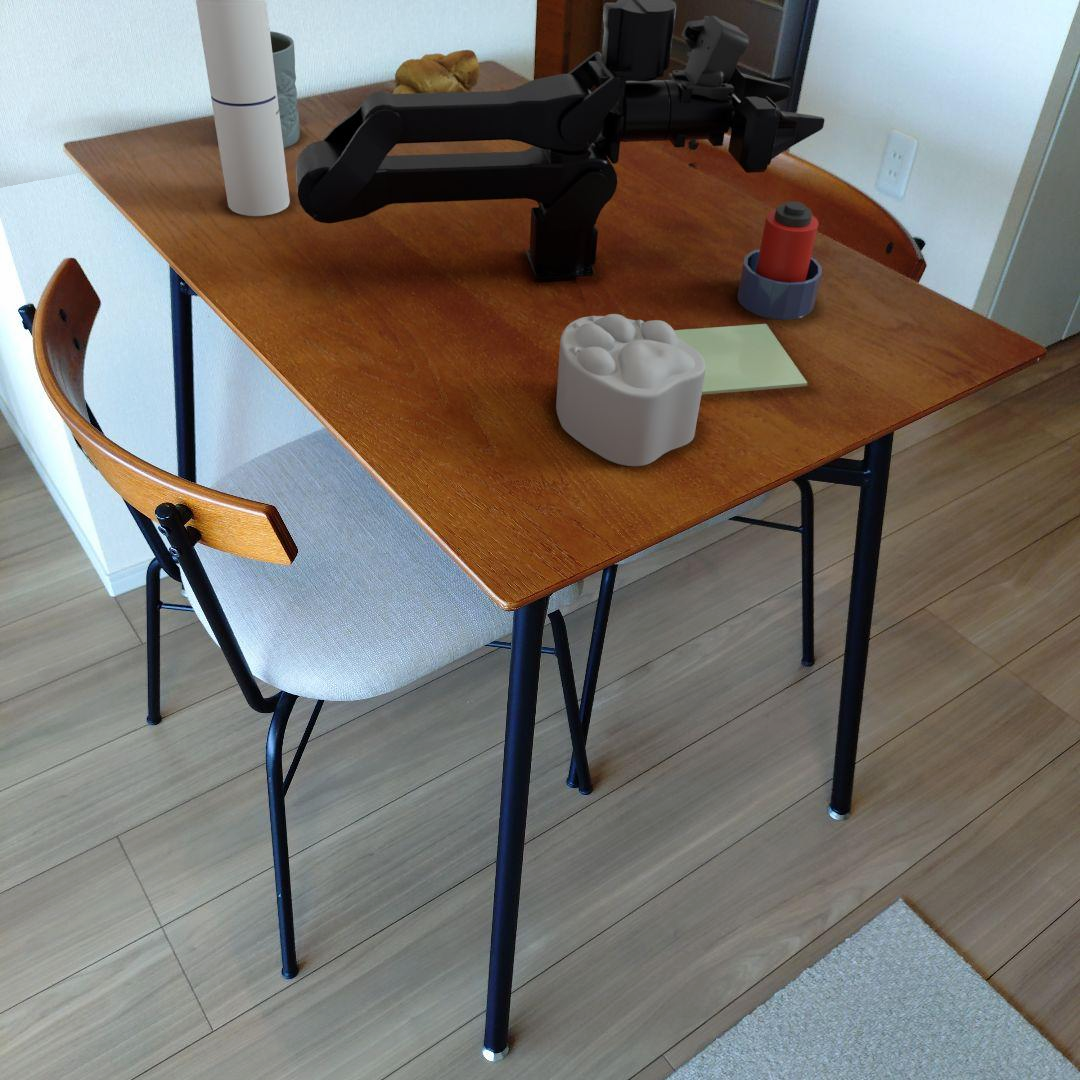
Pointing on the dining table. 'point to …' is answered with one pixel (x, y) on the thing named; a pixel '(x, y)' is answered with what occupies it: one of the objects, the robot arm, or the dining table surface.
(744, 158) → the robot arm
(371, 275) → the dining table surface
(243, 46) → the cylindrical container
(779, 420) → the dining table surface
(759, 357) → the tile
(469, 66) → the bread roll
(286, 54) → the embossed grey-green pot
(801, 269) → the bottle
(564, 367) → the lumpy-topped squat cylinder
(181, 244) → the dining table surface
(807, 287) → the cup
